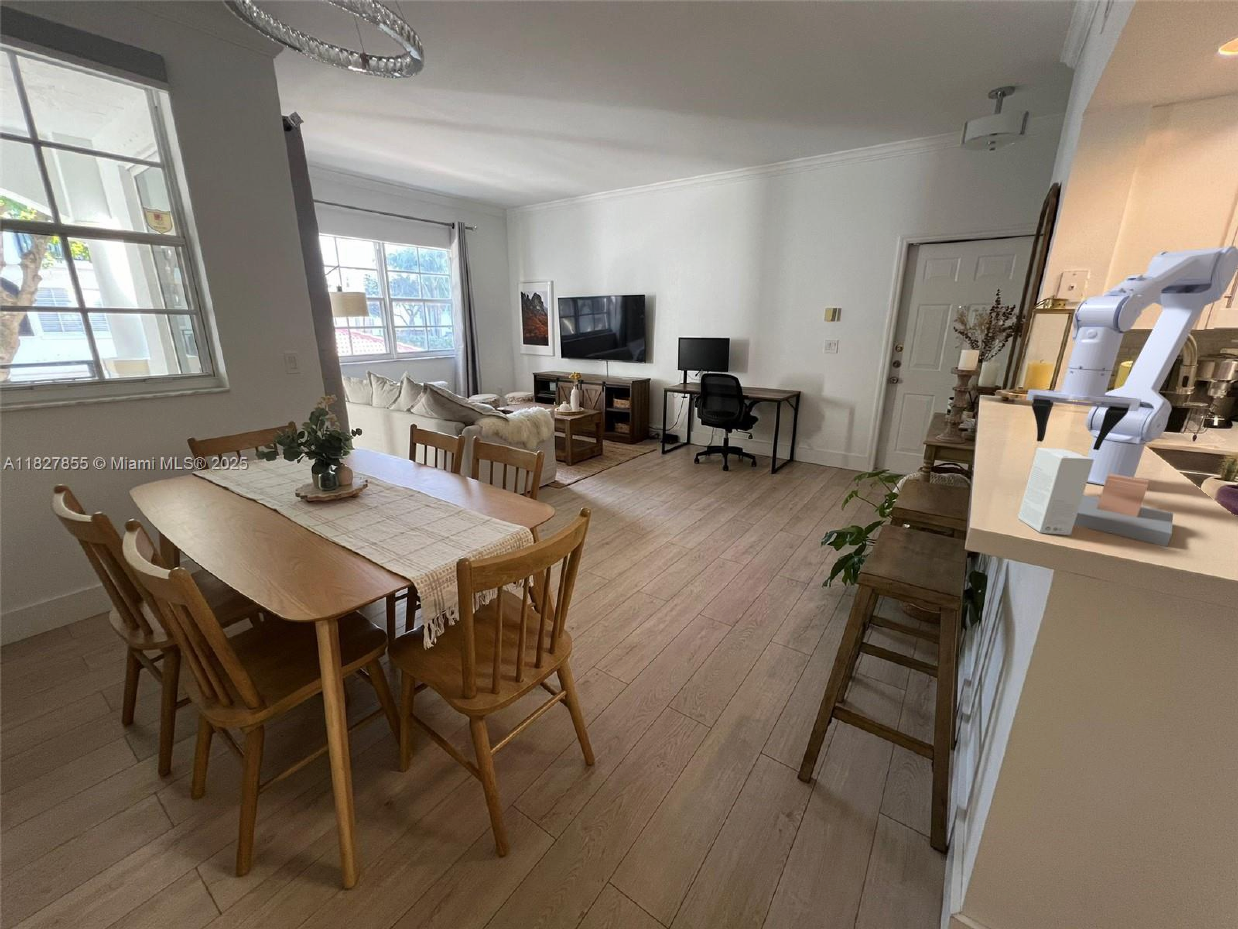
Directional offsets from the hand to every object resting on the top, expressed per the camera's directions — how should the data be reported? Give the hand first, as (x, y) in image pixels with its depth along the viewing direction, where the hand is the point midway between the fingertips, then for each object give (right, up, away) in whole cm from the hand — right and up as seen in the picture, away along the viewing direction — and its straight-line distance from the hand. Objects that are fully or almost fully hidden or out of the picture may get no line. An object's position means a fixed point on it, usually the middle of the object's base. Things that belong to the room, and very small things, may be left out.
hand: (1067, 444), depth 87 cm
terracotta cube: (-2, -11, -10) cm, 15 cm away
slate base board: (-2, -13, -10) cm, 17 cm away
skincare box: (-15, -14, -12) cm, 24 cm away
